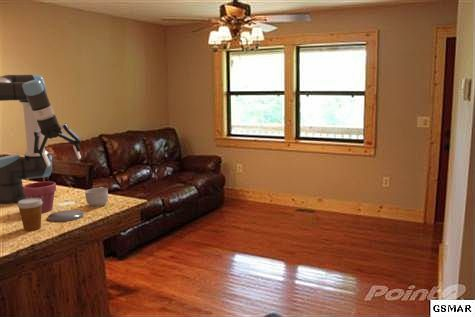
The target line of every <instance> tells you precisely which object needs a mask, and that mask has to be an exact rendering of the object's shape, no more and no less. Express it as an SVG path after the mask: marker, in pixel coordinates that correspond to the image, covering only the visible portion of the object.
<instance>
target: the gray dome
mask: <svg viewBox="0 0 475 317" xmlns="http://www.w3.org/2000/svg"><path fill="white" fill-rule="evenodd" d="M83 217H84V211H83V210H79V209H67V210H66V209H64V210H61V211H55V212H52V213H50V214H48V215H47V219H48V221H50V222H52V221H53V222H54V223H65V222H72V221H75V220H76V221H77V220H79V219H81V218H83Z"/></svg>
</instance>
